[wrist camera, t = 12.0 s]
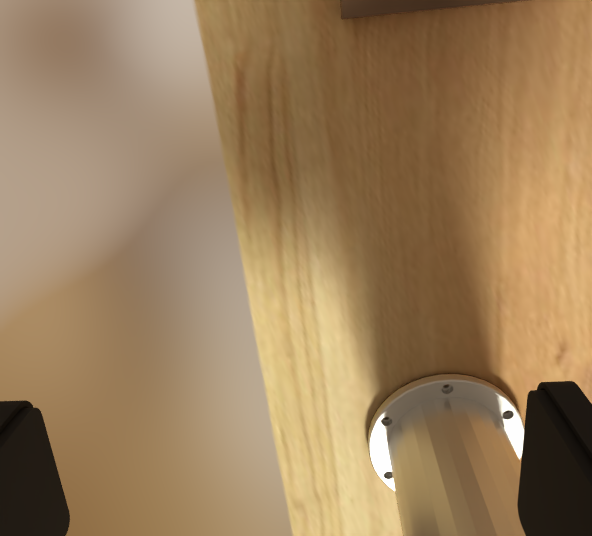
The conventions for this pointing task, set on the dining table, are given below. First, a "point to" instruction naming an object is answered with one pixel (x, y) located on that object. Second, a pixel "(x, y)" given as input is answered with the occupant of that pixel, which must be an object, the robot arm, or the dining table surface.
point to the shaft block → (404, 6)
